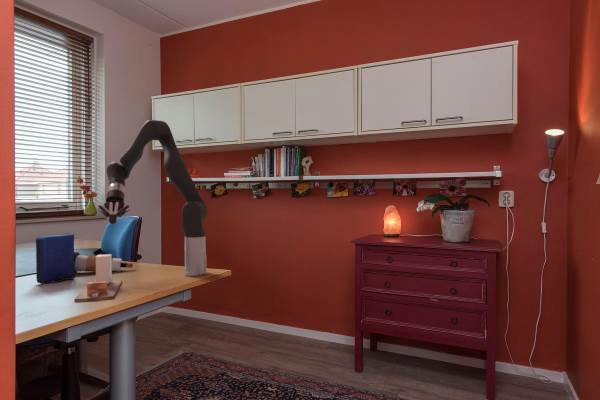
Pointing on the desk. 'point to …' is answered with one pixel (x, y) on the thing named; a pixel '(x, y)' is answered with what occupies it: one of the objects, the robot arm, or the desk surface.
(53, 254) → the book
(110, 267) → the sleeve
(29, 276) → the desk surface
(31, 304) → the desk surface
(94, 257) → the grey brown bottle
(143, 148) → the robot arm
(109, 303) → the desk surface
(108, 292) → the rail board
